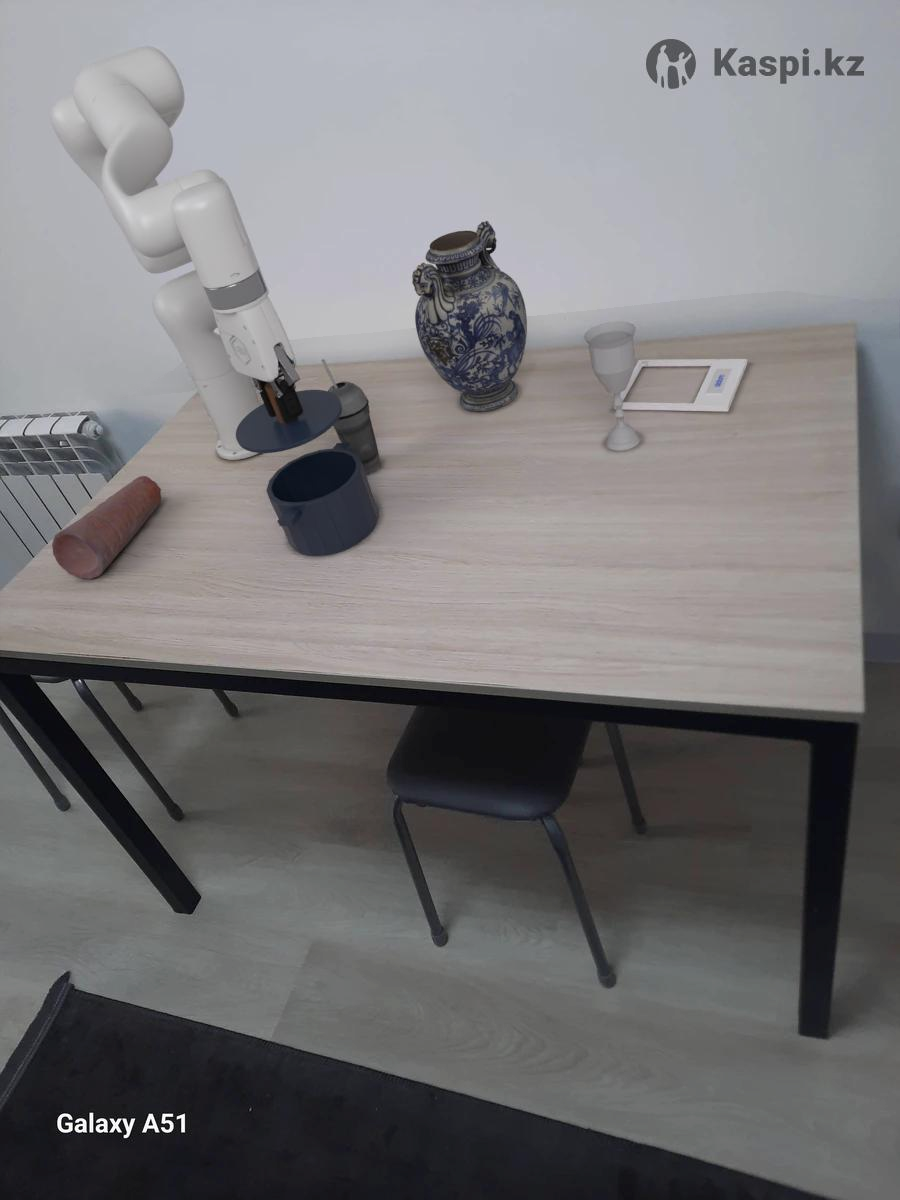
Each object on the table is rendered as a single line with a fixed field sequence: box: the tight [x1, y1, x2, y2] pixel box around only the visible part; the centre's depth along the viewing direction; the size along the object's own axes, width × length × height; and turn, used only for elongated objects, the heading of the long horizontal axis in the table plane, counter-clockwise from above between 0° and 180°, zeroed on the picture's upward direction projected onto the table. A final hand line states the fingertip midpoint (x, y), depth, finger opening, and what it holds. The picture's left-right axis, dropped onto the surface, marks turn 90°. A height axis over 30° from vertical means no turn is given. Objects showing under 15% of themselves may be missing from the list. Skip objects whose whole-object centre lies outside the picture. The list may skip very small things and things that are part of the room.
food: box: [51, 475, 162, 580], centre depth 143 cm, size 21×9×9 cm, turn 165°
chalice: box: [583, 320, 641, 452], centre depth 126 cm, size 7×7×18 cm
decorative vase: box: [411, 220, 528, 413], centre depth 144 cm, size 21×19×28 cm
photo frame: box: [613, 358, 748, 413], centre depth 139 cm, size 15×1×18 cm
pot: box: [265, 442, 380, 557], centre depth 130 cm, size 15×20×10 cm
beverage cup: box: [321, 358, 382, 475], centre depth 138 cm, size 7×7×20 cm
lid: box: [236, 378, 342, 454], centre depth 120 cm, size 16×16×7 cm
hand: (286, 413), depth 121 cm, fingers closed on lid, 2 cm apart
